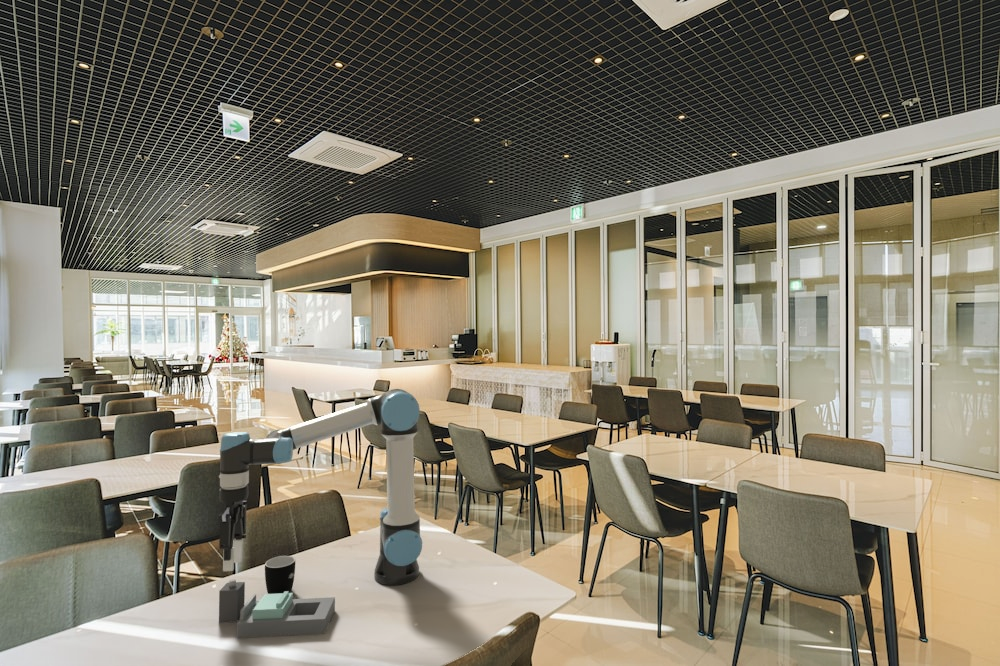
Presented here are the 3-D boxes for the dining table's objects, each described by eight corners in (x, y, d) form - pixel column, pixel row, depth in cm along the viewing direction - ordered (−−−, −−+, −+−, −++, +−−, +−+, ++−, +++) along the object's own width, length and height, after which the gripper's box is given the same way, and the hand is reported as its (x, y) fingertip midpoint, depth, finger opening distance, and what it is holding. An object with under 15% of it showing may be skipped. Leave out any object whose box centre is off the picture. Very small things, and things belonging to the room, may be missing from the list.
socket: (334, 610, 150) (335, 588, 150) (324, 633, 138) (325, 609, 138) (254, 614, 147) (254, 591, 148) (237, 638, 136) (237, 613, 136)
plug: (244, 612, 149) (244, 576, 149) (237, 621, 144) (237, 584, 144) (226, 613, 148) (227, 577, 148) (218, 622, 143) (219, 585, 143)
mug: (290, 599, 156) (291, 566, 157) (260, 601, 155) (261, 568, 155) (300, 581, 168) (300, 551, 169) (272, 583, 167) (272, 552, 167)
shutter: (292, 601, 147) (293, 589, 147) (282, 617, 138) (282, 605, 138) (264, 602, 146) (264, 590, 147) (252, 619, 137) (252, 606, 138)
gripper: (234, 478, 156) (232, 554, 155) (205, 495, 138) (204, 581, 137) (259, 477, 156) (257, 553, 156) (234, 494, 138) (232, 580, 138)
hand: (232, 566), depth 146 cm, fingers open, 5 cm apart
